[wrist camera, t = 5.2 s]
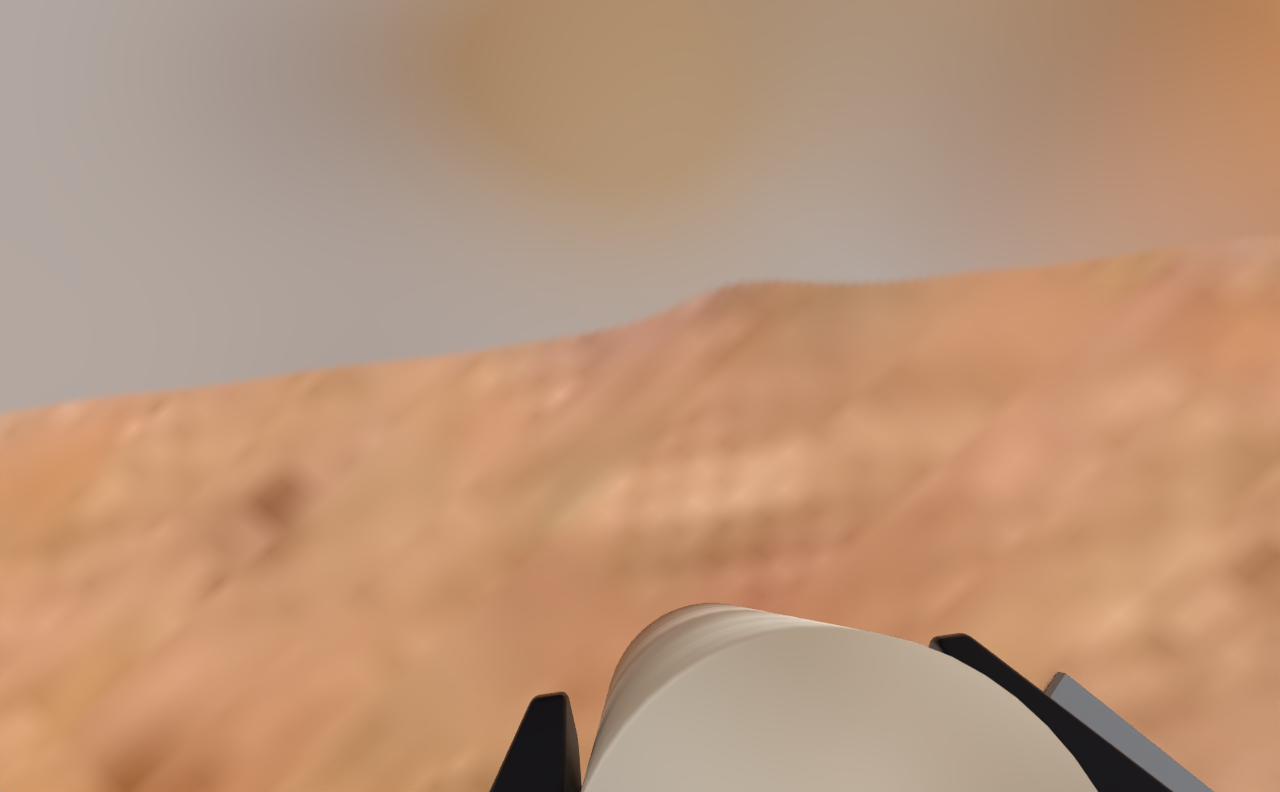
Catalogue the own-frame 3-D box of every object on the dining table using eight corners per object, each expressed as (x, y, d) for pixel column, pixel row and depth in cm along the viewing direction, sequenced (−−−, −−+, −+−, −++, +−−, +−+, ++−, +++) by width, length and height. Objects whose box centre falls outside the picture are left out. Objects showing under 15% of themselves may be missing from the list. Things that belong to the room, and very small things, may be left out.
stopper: (731, 887, 14) (930, 1518, 5) (561, 728, 15) (424, 988, 5) (865, 701, 15) (1269, 904, 5) (697, 559, 16) (794, 515, 6)
